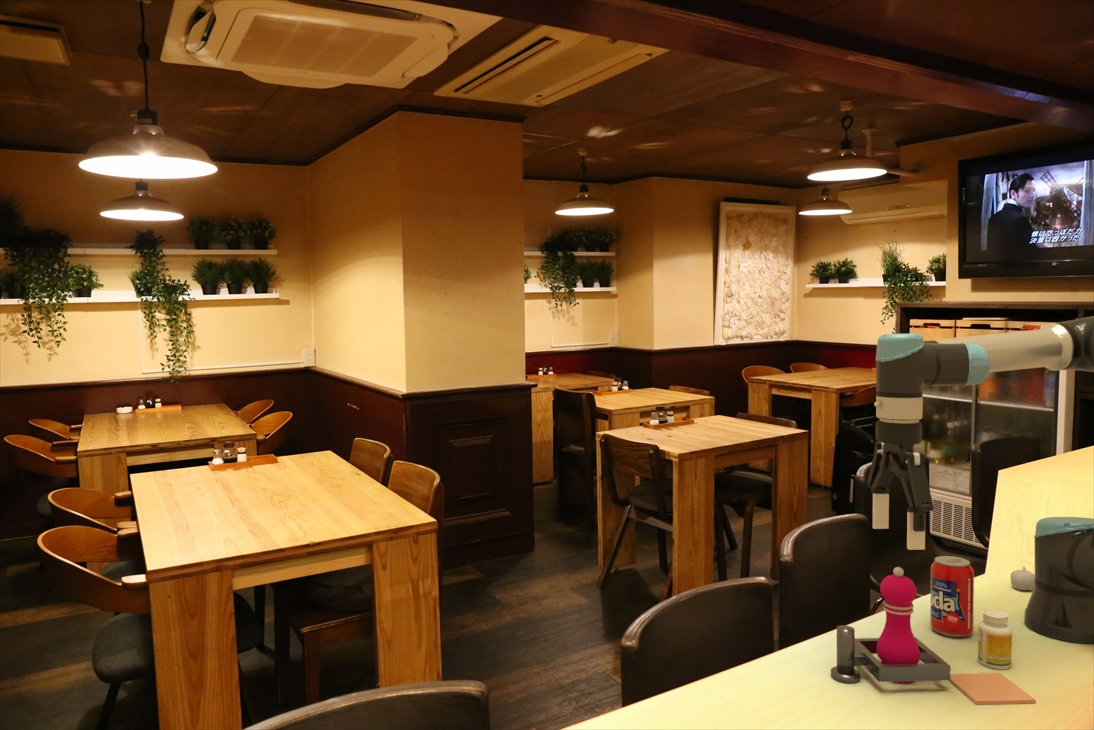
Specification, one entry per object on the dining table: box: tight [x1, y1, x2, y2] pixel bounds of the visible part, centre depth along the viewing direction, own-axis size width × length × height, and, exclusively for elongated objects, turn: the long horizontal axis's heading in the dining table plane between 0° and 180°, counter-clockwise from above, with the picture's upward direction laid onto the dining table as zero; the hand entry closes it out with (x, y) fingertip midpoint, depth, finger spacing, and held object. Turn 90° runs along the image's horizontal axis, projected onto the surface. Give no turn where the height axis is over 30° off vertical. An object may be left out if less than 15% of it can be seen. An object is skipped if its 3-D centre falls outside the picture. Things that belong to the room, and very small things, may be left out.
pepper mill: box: [876, 566, 921, 685], centre depth 140 cm, size 7×7×20 cm
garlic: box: [1010, 566, 1035, 591], centre depth 184 cm, size 6×5×5 cm
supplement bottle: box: [977, 609, 1013, 670], centre depth 144 cm, size 5×5×10 cm
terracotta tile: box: [947, 672, 1037, 706], centre depth 134 cm, size 10×10×1 cm
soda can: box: [929, 555, 975, 638], centre depth 159 cm, size 8×8×15 cm
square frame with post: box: [830, 624, 951, 685], centre depth 140 cm, size 18×12×9 cm
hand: (897, 538), depth 139 cm, fingers open, 13 cm apart
